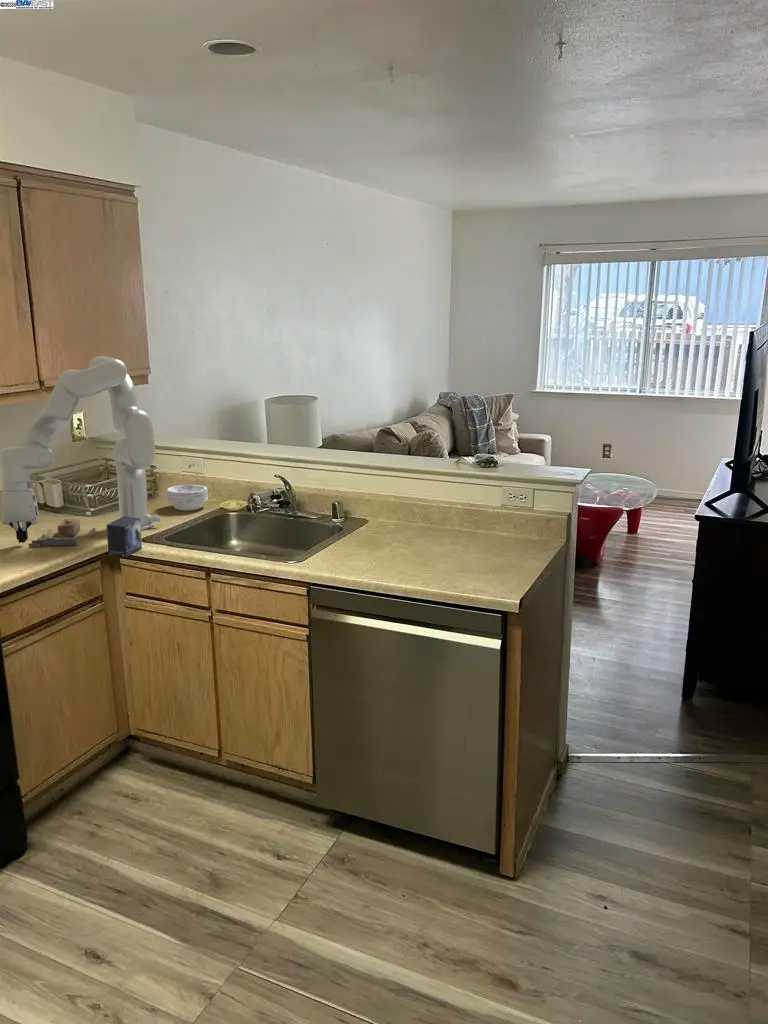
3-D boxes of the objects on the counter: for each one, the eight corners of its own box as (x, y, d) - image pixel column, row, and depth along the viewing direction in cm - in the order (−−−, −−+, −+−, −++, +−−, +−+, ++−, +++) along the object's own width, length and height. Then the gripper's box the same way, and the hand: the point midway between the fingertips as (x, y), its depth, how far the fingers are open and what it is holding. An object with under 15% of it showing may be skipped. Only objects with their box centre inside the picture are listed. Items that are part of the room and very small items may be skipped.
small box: (126, 558, 242) (124, 526, 240) (107, 556, 244) (105, 524, 241) (143, 548, 252) (141, 517, 250) (124, 546, 254) (122, 515, 251)
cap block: (80, 531, 270) (79, 516, 269) (74, 538, 262) (73, 523, 260) (65, 531, 269) (64, 516, 268) (58, 539, 261) (57, 523, 260)
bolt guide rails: (95, 531, 270) (95, 527, 270) (91, 536, 263) (90, 533, 263) (48, 532, 268) (48, 528, 267) (42, 537, 261) (42, 534, 261)
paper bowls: (191, 501, 313) (190, 481, 311) (216, 507, 304) (215, 487, 302) (159, 508, 301) (158, 488, 299) (184, 515, 292) (183, 494, 290)
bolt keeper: (43, 543, 255) (43, 540, 255) (40, 547, 251) (40, 543, 251) (32, 543, 254) (32, 540, 254) (28, 547, 251) (28, 543, 251)
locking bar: (77, 543, 256) (76, 533, 255) (75, 545, 254) (75, 535, 253) (38, 544, 254) (37, 534, 253) (37, 545, 252) (36, 536, 251)
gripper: (45, 483, 252) (50, 537, 257) (-5, 483, 250) (2, 538, 255) (38, 488, 245) (43, 544, 249) (-13, 489, 243) (-6, 545, 247)
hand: (22, 541), depth 252 cm, fingers closed
